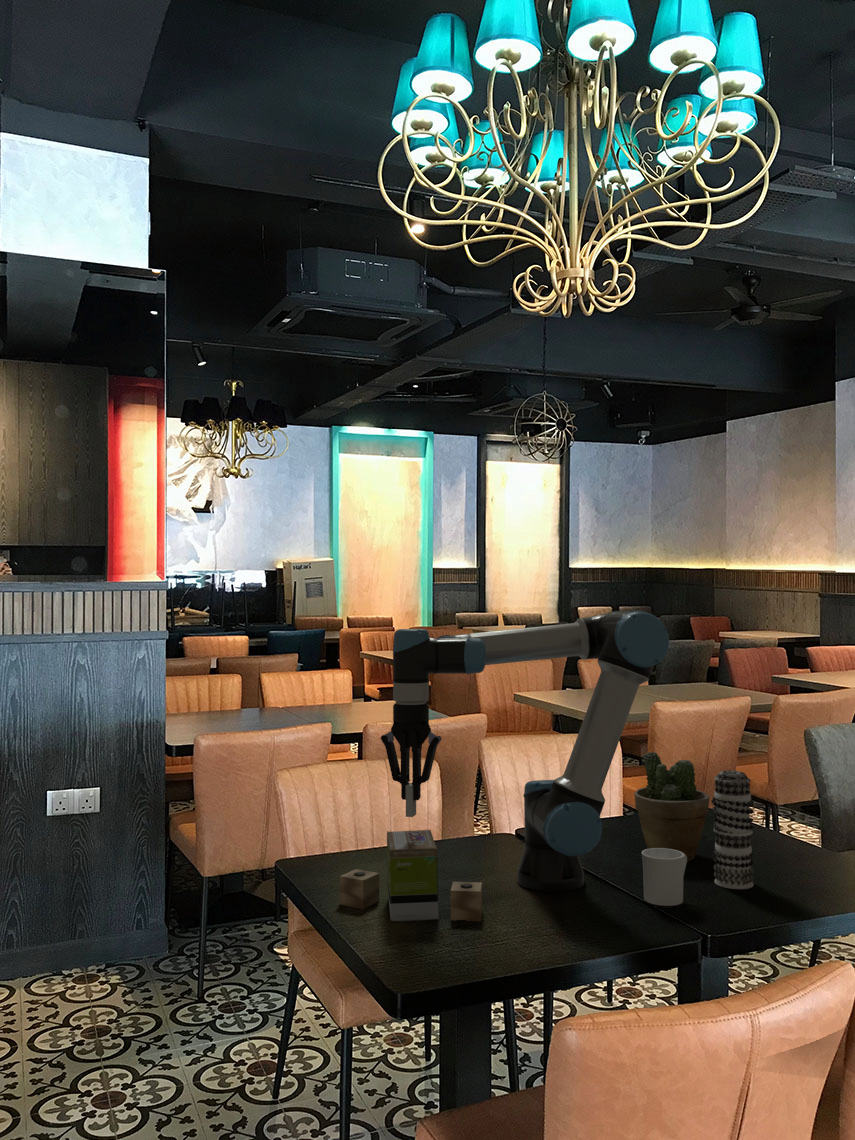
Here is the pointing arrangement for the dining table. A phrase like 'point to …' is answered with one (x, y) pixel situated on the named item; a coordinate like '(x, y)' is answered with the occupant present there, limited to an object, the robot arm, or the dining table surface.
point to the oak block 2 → (466, 901)
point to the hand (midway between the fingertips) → (410, 815)
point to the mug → (663, 876)
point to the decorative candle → (733, 830)
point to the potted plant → (671, 806)
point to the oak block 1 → (359, 888)
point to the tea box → (412, 875)
